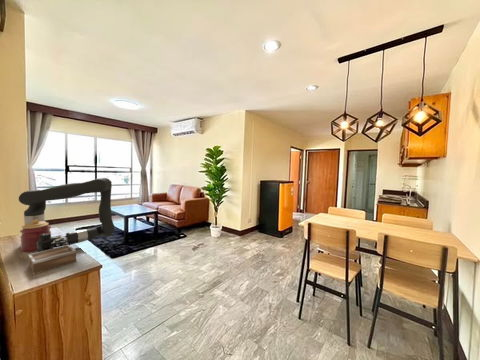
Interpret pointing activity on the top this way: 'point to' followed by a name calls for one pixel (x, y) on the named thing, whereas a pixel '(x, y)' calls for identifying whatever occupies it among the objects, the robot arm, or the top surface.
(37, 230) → the canister
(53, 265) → the open rectangular tray
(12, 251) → the top surface
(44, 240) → the supplement bottle
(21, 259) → the top surface
